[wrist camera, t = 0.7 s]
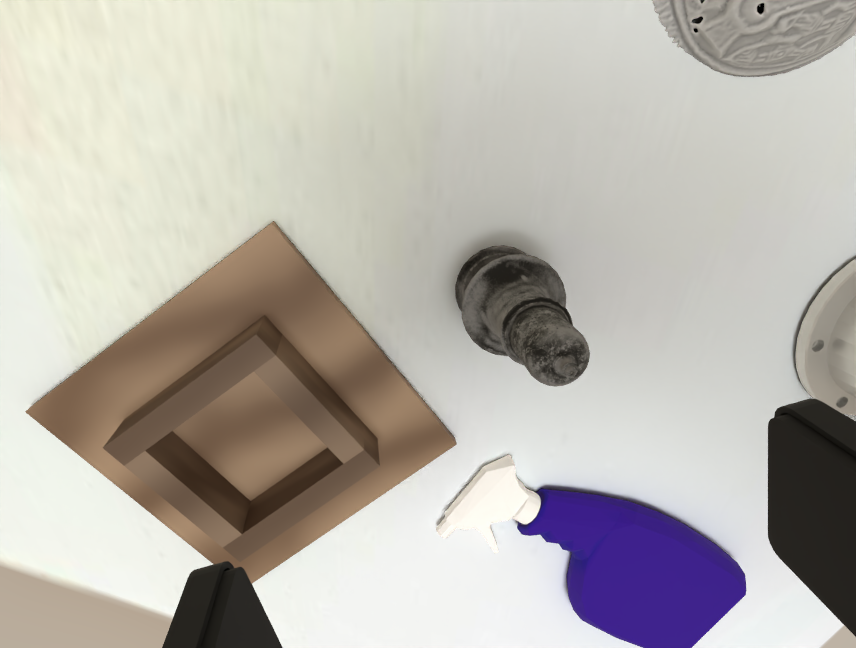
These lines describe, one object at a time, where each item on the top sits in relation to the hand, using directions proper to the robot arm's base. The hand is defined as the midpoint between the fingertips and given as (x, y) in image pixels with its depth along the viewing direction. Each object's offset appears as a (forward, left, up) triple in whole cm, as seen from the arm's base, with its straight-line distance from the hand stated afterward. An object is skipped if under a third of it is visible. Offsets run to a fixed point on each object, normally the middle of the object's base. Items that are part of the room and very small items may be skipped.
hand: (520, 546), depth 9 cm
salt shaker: (-6, -3, -24) cm, 25 cm away
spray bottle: (-28, +2, -24) cm, 37 cm away
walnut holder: (-4, +14, -24) cm, 28 cm away
